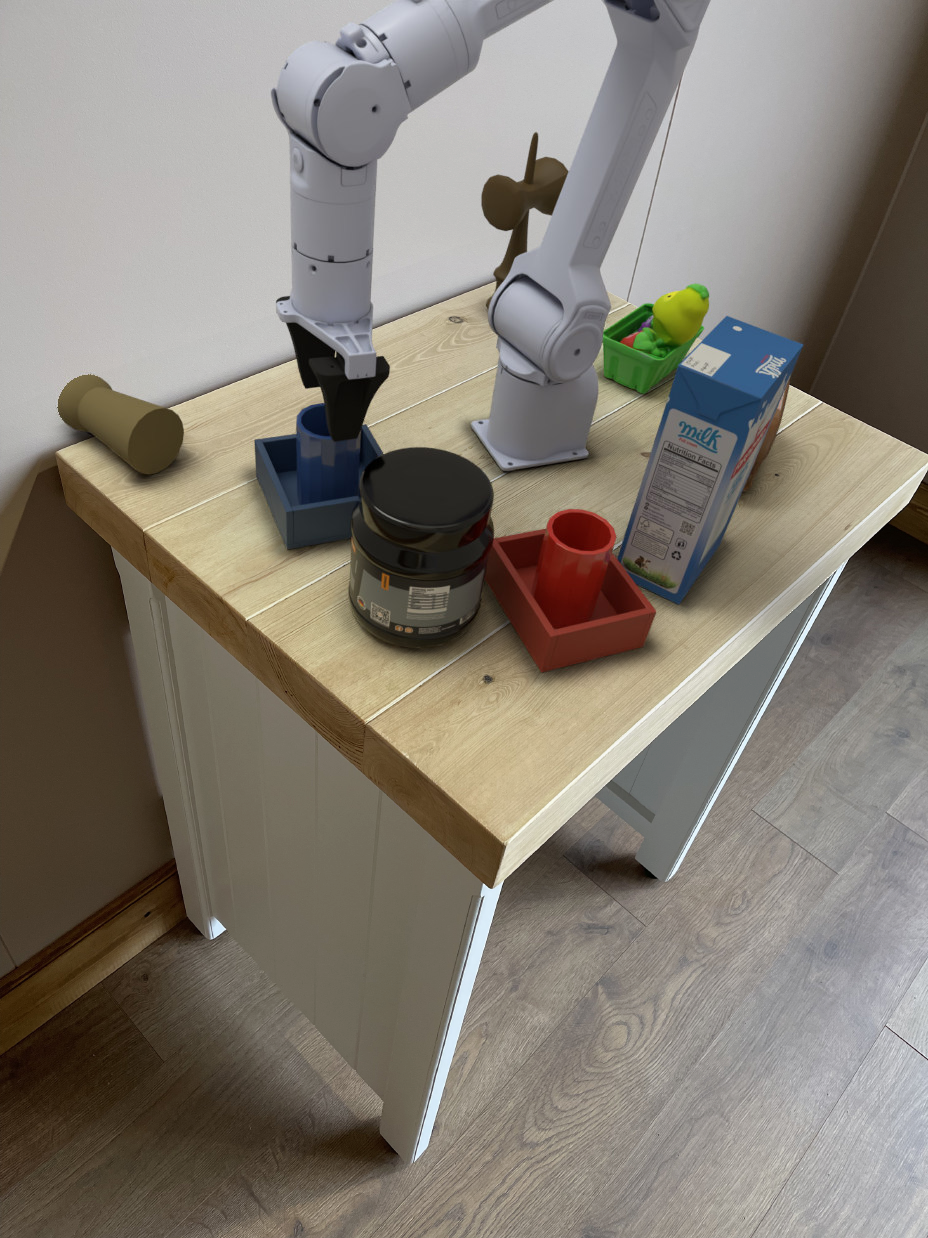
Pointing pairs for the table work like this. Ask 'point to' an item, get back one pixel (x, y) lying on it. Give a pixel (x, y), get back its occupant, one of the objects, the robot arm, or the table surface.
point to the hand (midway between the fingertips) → (329, 410)
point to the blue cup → (324, 459)
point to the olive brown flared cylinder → (123, 423)
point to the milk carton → (704, 453)
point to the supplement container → (420, 546)
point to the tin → (768, 439)
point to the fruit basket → (654, 338)
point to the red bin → (608, 632)
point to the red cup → (572, 566)
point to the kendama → (521, 203)
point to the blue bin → (281, 492)
